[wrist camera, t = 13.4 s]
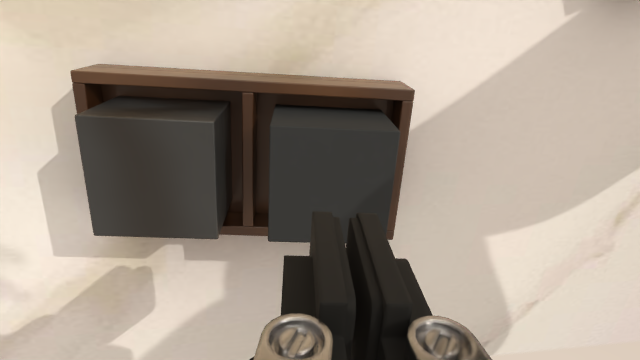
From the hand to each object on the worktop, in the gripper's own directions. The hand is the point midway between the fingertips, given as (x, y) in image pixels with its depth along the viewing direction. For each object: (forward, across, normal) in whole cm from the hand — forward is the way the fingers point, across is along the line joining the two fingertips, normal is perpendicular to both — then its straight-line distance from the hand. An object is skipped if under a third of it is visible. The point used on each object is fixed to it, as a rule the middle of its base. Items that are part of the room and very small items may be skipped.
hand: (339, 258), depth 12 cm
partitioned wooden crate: (+10, +3, 0) cm, 11 cm away
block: (+9, 0, 0) cm, 9 cm away
